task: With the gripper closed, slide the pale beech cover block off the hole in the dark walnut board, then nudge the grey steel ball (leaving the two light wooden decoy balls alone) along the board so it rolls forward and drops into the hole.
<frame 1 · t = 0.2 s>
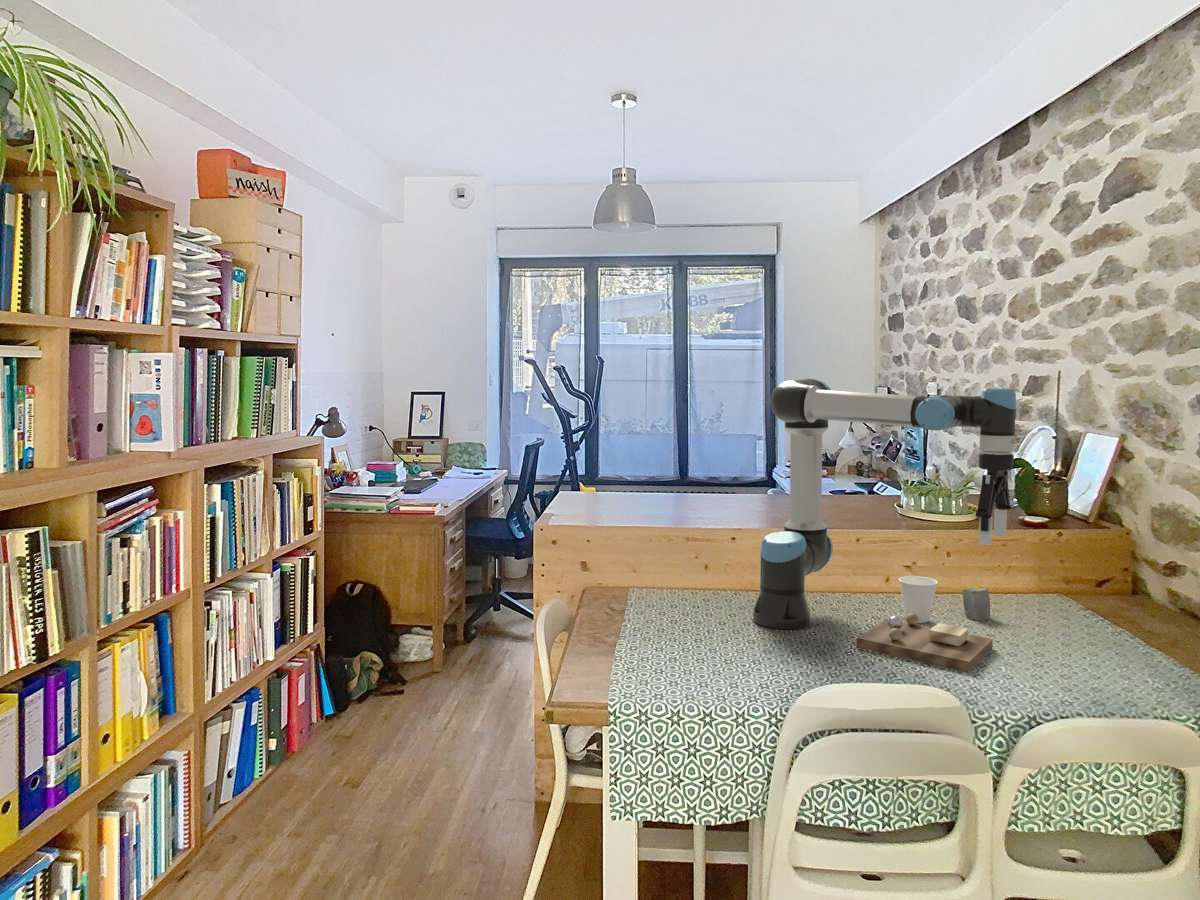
hand: (992, 540, 202), 27 cm above the table, fingers open, 13 cm apart
board: (924, 648, 203), on the table
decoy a: (895, 634, 201), point 4 cm above the table, touching board
cover: (948, 634, 201), point 4 cm above the table, slide at 0.0 cm
decoy b: (912, 619, 213), point 4 cm above the table, touching board
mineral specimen: (974, 617, 229), on the table
cup: (916, 620, 226), on the table
steel ball: (894, 623, 209), point 4 cm above the table, touching board
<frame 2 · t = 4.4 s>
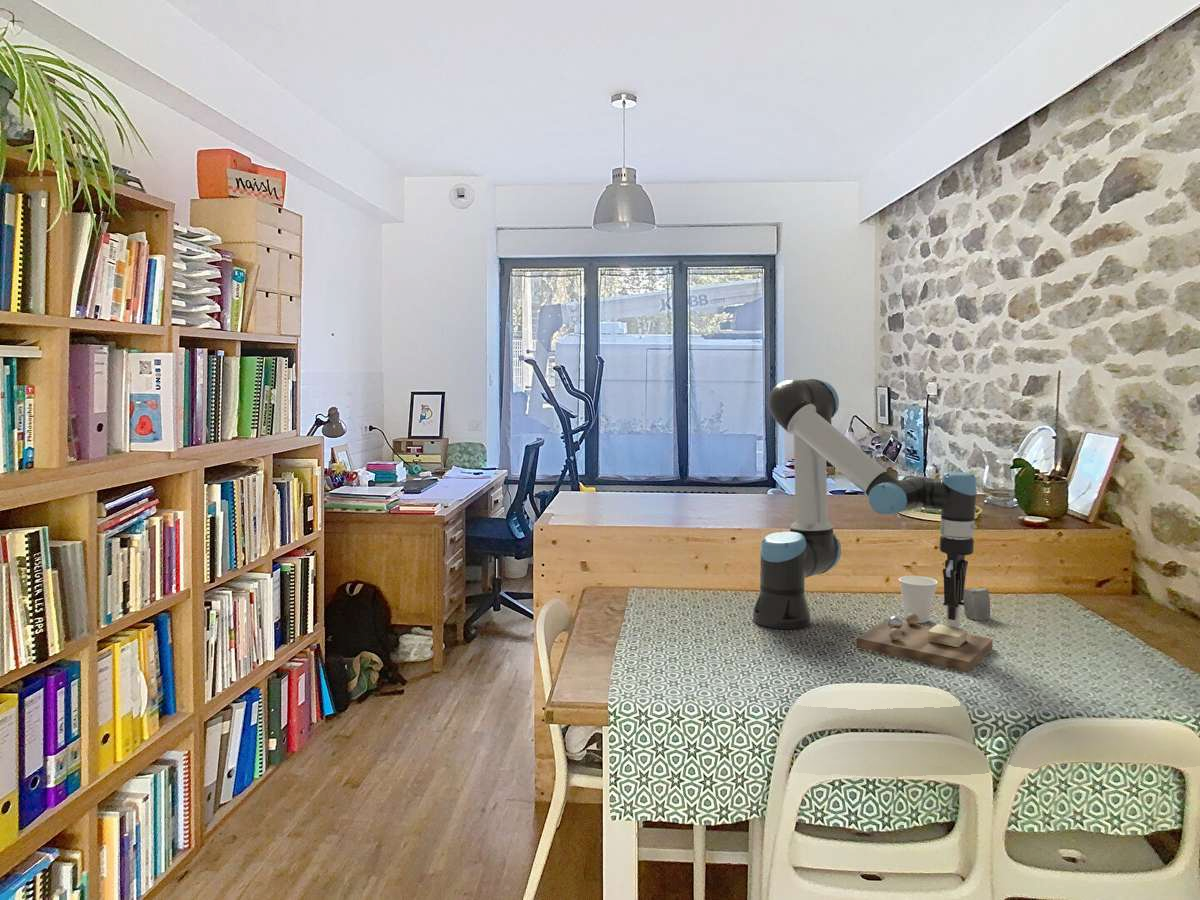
hand: (952, 631, 204), 4 cm above the table, fingers closed
cover: (947, 635, 200), point 4 cm above the table, slide at 1.0 cm, touching gripper
everything else where it was.
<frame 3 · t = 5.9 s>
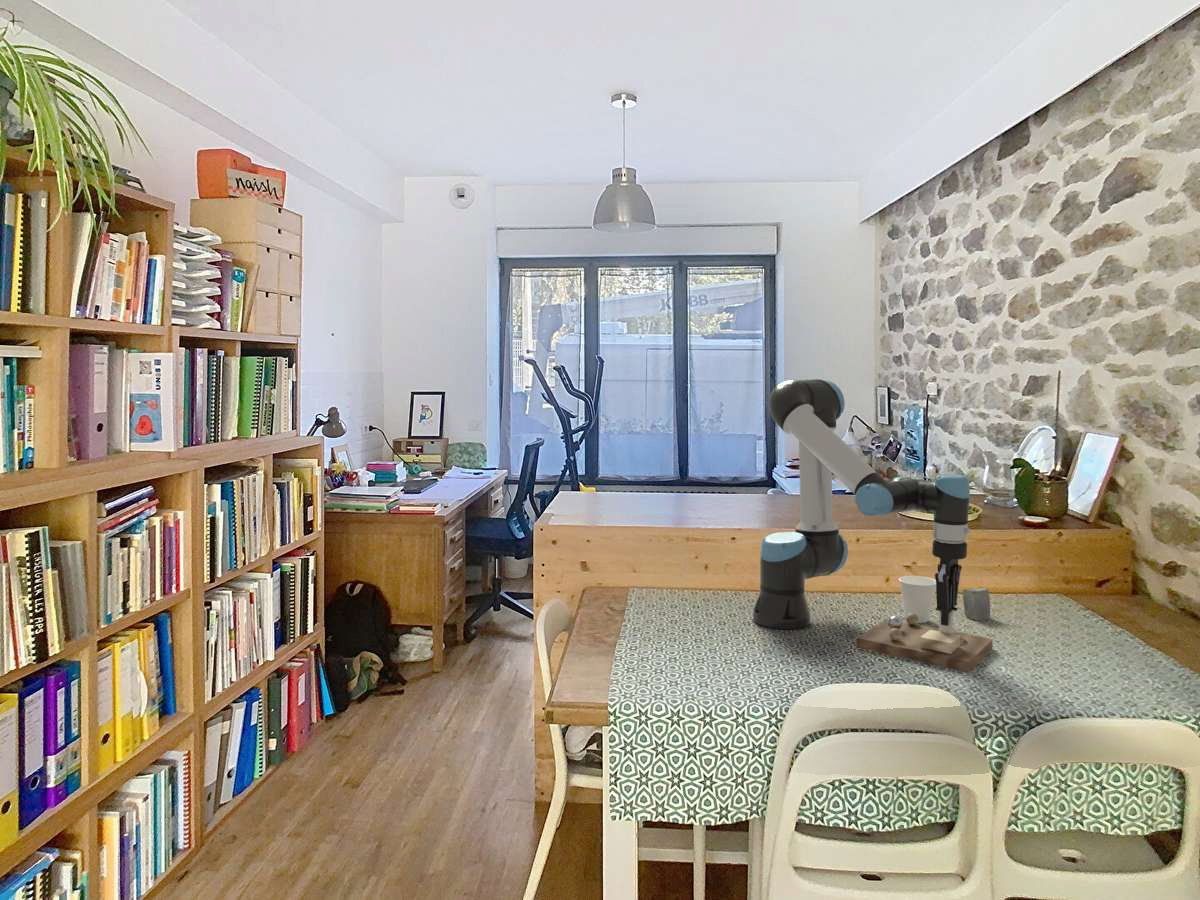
hand: (945, 637, 199), 4 cm above the table, fingers closed
cover: (940, 641, 196), point 4 cm above the table, slide at 6.7 cm, touching gripper
everything else where it was.
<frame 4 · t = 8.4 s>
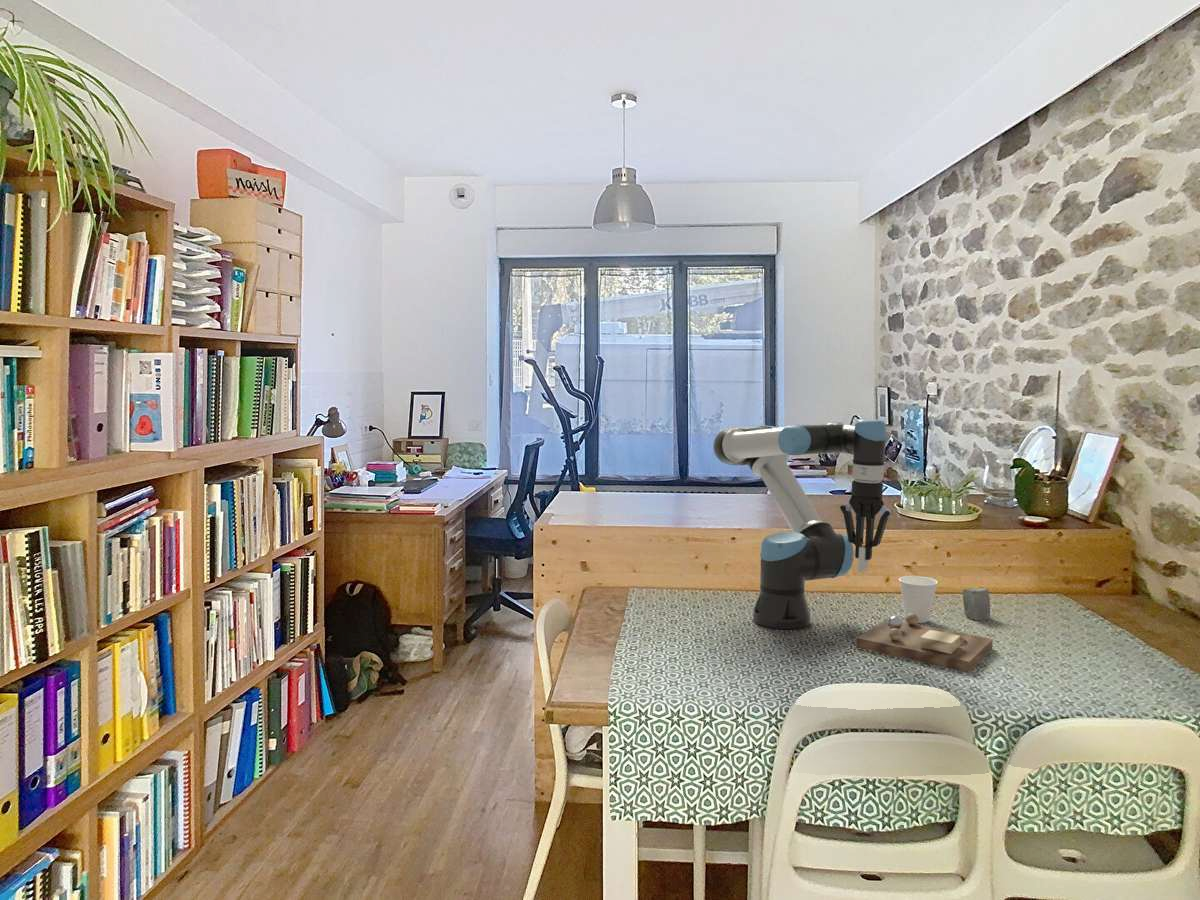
hand: (862, 571, 214), 16 cm above the table, fingers closed
cover: (940, 641, 196), point 4 cm above the table, slide at 6.7 cm
everything else where it was.
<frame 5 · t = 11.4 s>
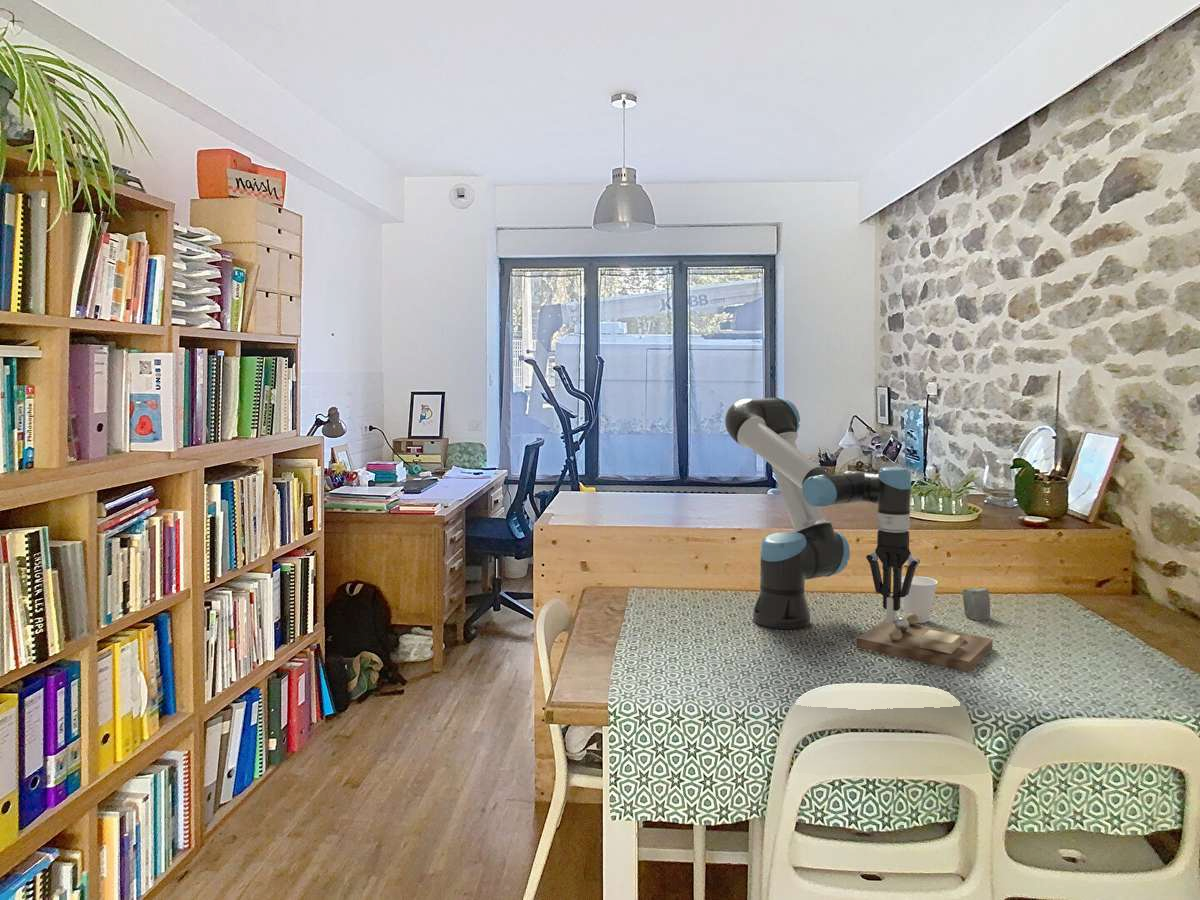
hand: (891, 622, 210), 4 cm above the table, fingers closed
steel ball: (901, 624, 208), point 4 cm above the table, tilted 56°, touching board
everything else where it was.
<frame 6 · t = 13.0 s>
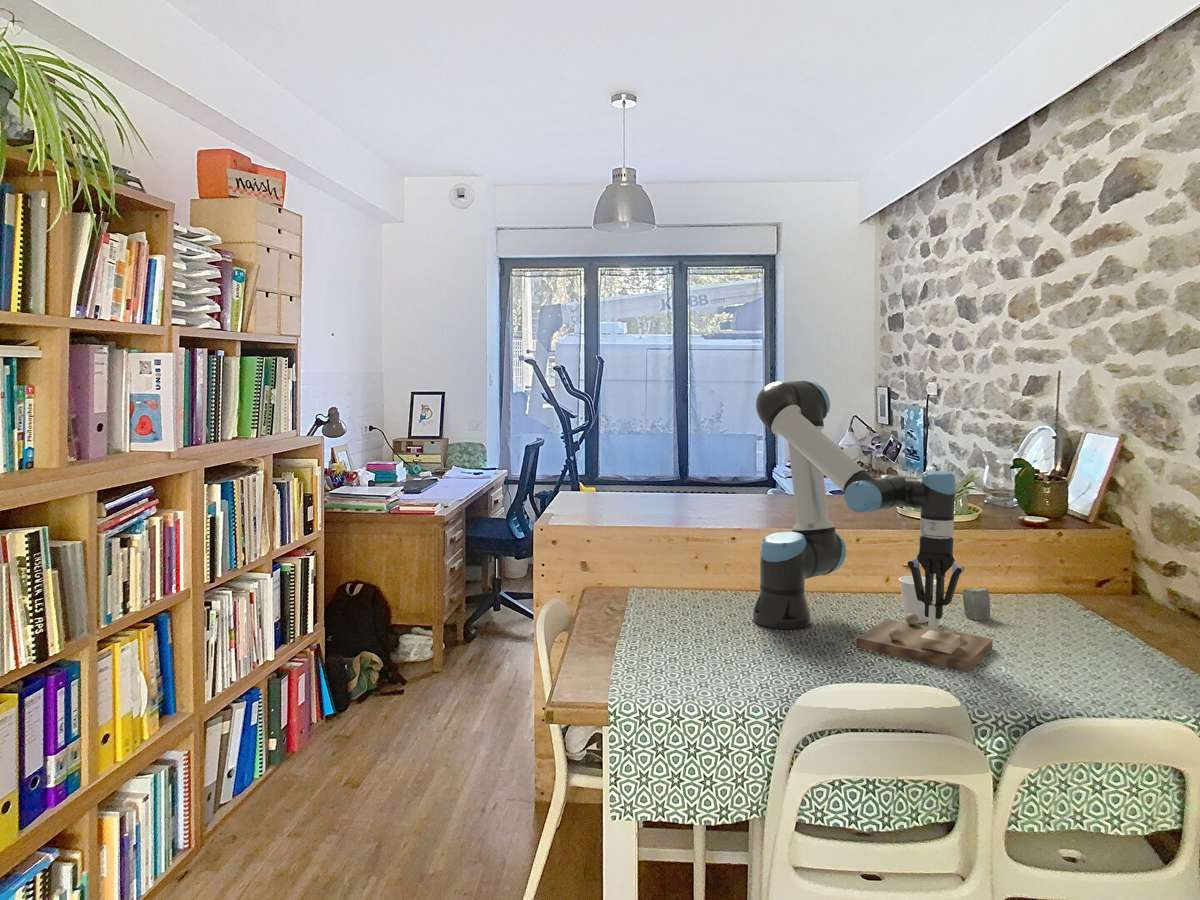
hand: (932, 630, 203), 4 cm above the table, fingers closed
steel ball: (949, 644, 201), point 2 cm above the table, tilted 131°
everything else where it was.
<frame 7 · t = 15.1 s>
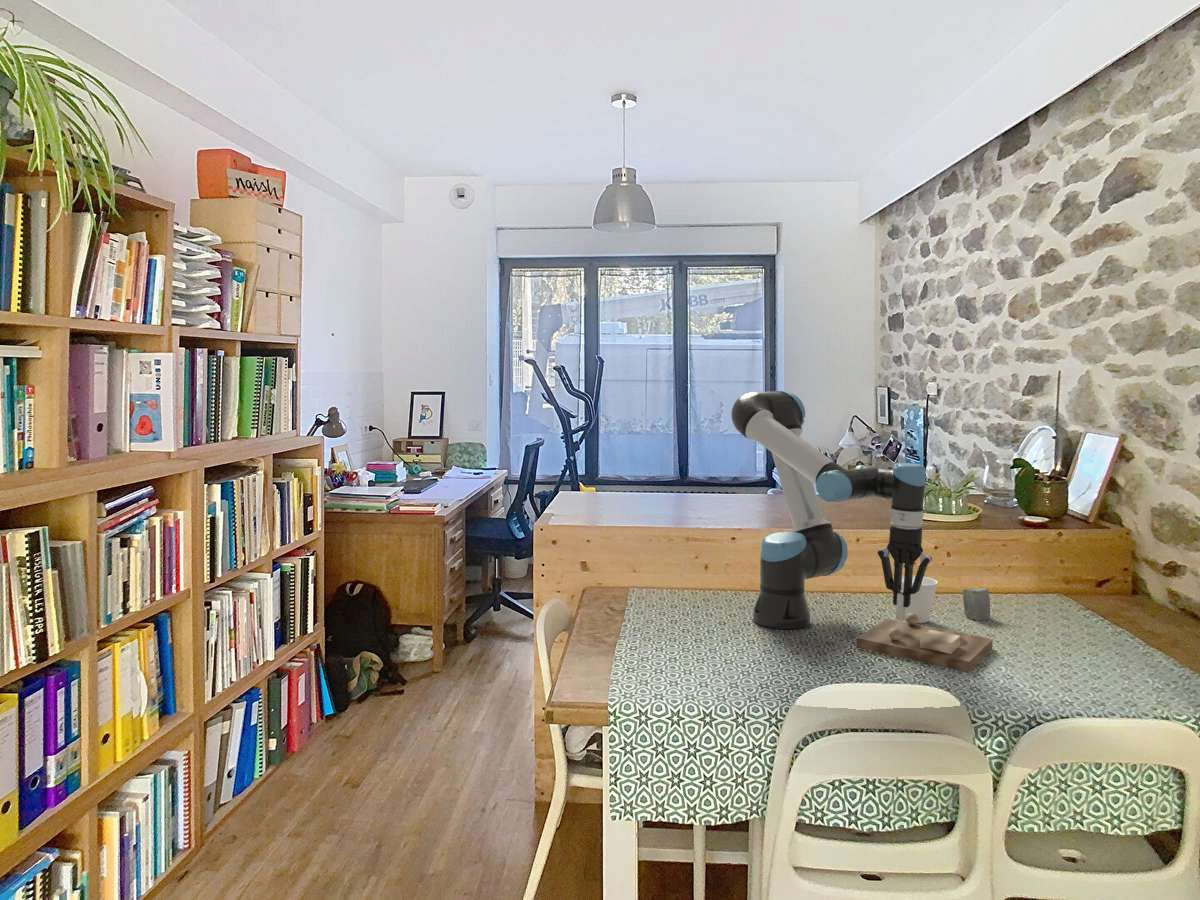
hand: (900, 618, 209), 6 cm above the table, fingers closed
steel ball: (947, 643, 202), point 2 cm above the table, tilted 109°
everything else where it was.
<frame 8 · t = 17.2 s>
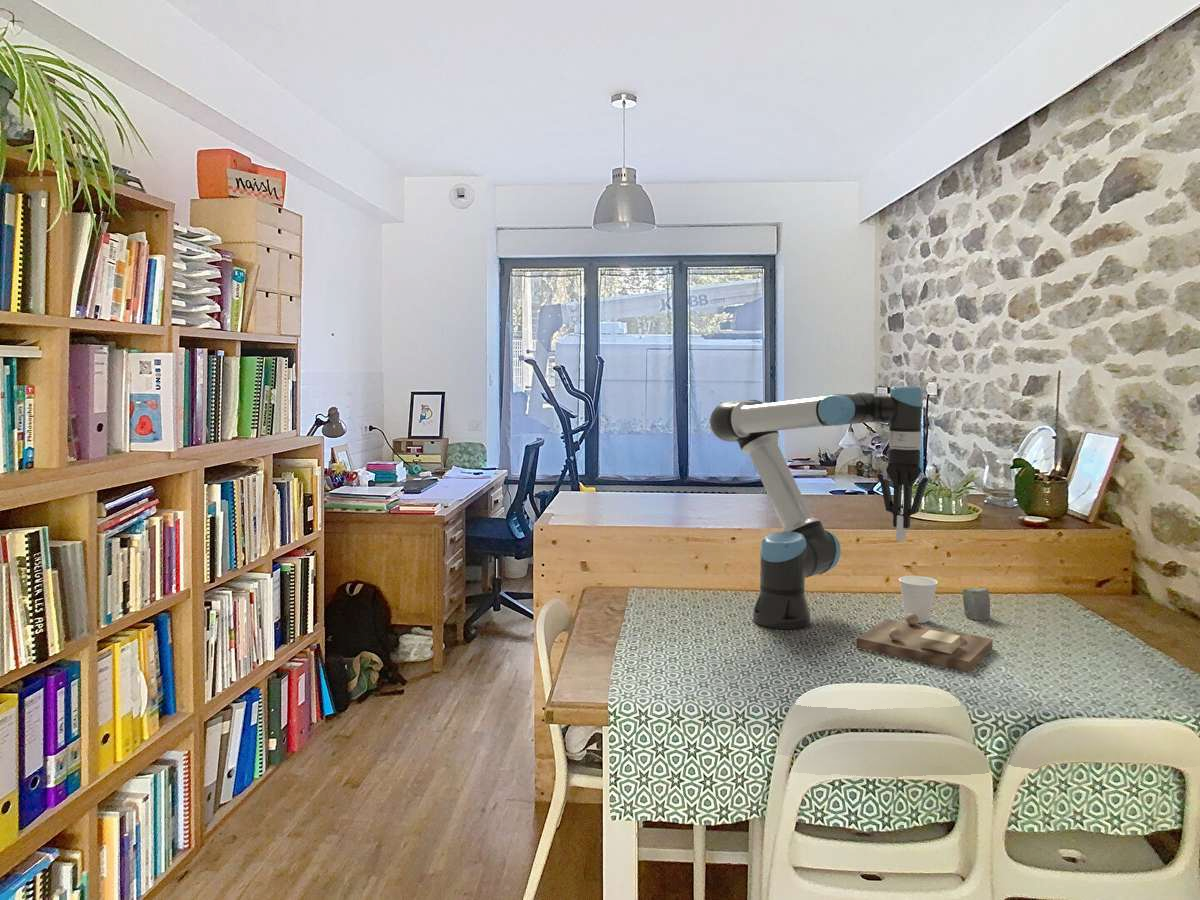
hand: (900, 540, 212), 24 cm above the table, fingers closed
steel ball: (947, 643, 202), point 2 cm above the table, tilted 114°
everything else where it was.
at the end: steel ball 0.3 cm from the target spot in the board, point 1.7 cm above the board's base; cover slide at 6.7 cm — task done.
